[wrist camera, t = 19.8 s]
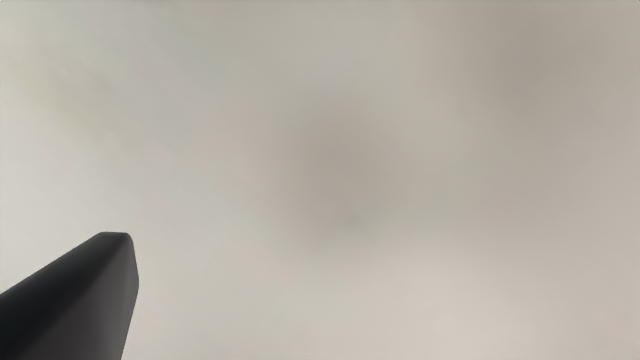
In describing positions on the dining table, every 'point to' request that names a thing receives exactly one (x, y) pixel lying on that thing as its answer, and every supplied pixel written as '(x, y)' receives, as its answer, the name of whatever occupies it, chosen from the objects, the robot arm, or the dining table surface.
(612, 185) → the dining table surface
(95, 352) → the robot arm
